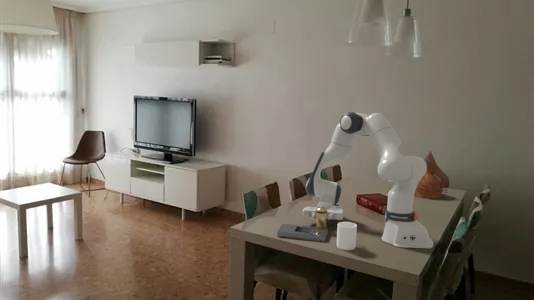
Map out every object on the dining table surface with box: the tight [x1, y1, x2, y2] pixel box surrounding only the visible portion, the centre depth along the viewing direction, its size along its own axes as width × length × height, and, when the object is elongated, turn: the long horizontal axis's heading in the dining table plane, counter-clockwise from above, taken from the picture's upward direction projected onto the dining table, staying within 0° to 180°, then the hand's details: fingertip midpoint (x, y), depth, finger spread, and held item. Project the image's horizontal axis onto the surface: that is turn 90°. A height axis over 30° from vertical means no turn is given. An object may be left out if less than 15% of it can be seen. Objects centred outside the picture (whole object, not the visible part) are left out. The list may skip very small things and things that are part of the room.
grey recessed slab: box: [276, 223, 329, 242], centre depth 205 cm, size 22×12×2 cm, turn 76°
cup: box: [336, 221, 358, 251], centre depth 192 cm, size 8×12×10 cm
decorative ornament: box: [414, 151, 450, 200], centre depth 286 cm, size 26×19×30 cm
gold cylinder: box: [315, 206, 327, 228], centre depth 212 cm, size 5×5×10 cm
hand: (321, 217), depth 211 cm, fingers closed on gold cylinder, 5 cm apart
